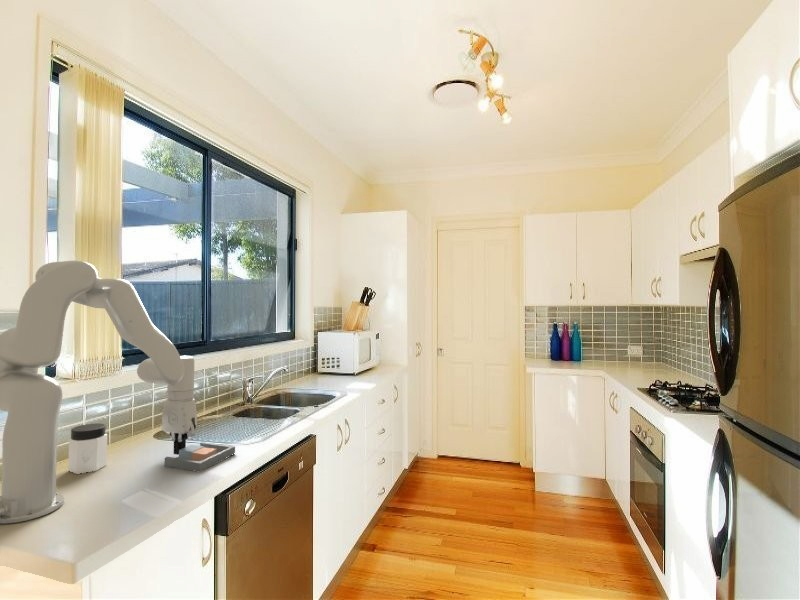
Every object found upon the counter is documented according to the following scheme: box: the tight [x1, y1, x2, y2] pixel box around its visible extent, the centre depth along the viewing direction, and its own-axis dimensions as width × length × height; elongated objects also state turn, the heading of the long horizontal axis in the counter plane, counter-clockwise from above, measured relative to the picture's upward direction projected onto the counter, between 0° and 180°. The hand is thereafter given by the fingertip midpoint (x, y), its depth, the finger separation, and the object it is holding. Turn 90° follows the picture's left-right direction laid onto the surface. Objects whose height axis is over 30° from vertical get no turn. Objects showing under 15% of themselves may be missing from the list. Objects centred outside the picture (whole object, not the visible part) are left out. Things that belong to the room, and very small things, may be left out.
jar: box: [67, 422, 108, 475], centre depth 121 cm, size 9×8×12 cm
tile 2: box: [191, 447, 217, 462], centre depth 128 cm, size 5×5×3 cm
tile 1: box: [178, 444, 204, 460], centre depth 130 cm, size 5×5×3 cm
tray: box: [163, 441, 236, 472], centre depth 128 cm, size 15×13×2 cm
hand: (179, 452), depth 131 cm, fingers closed
